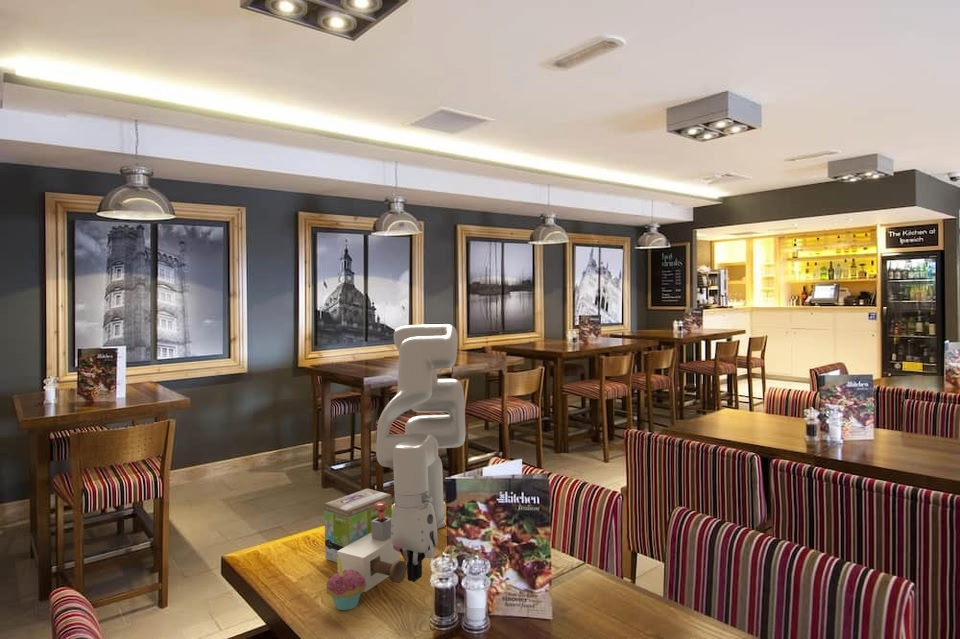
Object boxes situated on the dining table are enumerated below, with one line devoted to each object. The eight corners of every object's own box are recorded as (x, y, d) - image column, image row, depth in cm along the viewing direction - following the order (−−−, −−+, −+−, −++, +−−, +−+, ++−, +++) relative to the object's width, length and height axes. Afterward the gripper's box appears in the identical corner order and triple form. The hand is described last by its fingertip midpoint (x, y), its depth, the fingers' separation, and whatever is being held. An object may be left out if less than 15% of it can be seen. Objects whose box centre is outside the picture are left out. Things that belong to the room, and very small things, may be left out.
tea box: (350, 569, 152) (348, 510, 151) (324, 559, 158) (322, 502, 157) (394, 547, 164) (392, 493, 163) (368, 539, 170) (366, 486, 169)
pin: (407, 578, 142) (406, 557, 141) (393, 587, 137) (393, 566, 137) (363, 566, 148) (362, 547, 148) (349, 574, 144) (348, 554, 144)
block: (374, 562, 155) (372, 514, 154) (400, 568, 151) (398, 519, 150) (338, 584, 144) (336, 532, 143) (364, 592, 140) (362, 538, 139)
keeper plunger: (381, 522, 153) (380, 501, 152) (391, 524, 151) (390, 503, 151) (372, 526, 150) (371, 505, 150) (382, 529, 148) (381, 507, 148)
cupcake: (347, 618, 129) (344, 562, 128) (318, 608, 133) (315, 554, 133) (374, 600, 136) (372, 547, 135) (346, 591, 141) (344, 540, 140)
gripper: (449, 497, 136) (452, 578, 137) (395, 488, 143) (398, 565, 144) (429, 509, 129) (432, 593, 130) (374, 498, 137) (377, 579, 138)
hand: (414, 578), depth 137 cm, fingers closed
